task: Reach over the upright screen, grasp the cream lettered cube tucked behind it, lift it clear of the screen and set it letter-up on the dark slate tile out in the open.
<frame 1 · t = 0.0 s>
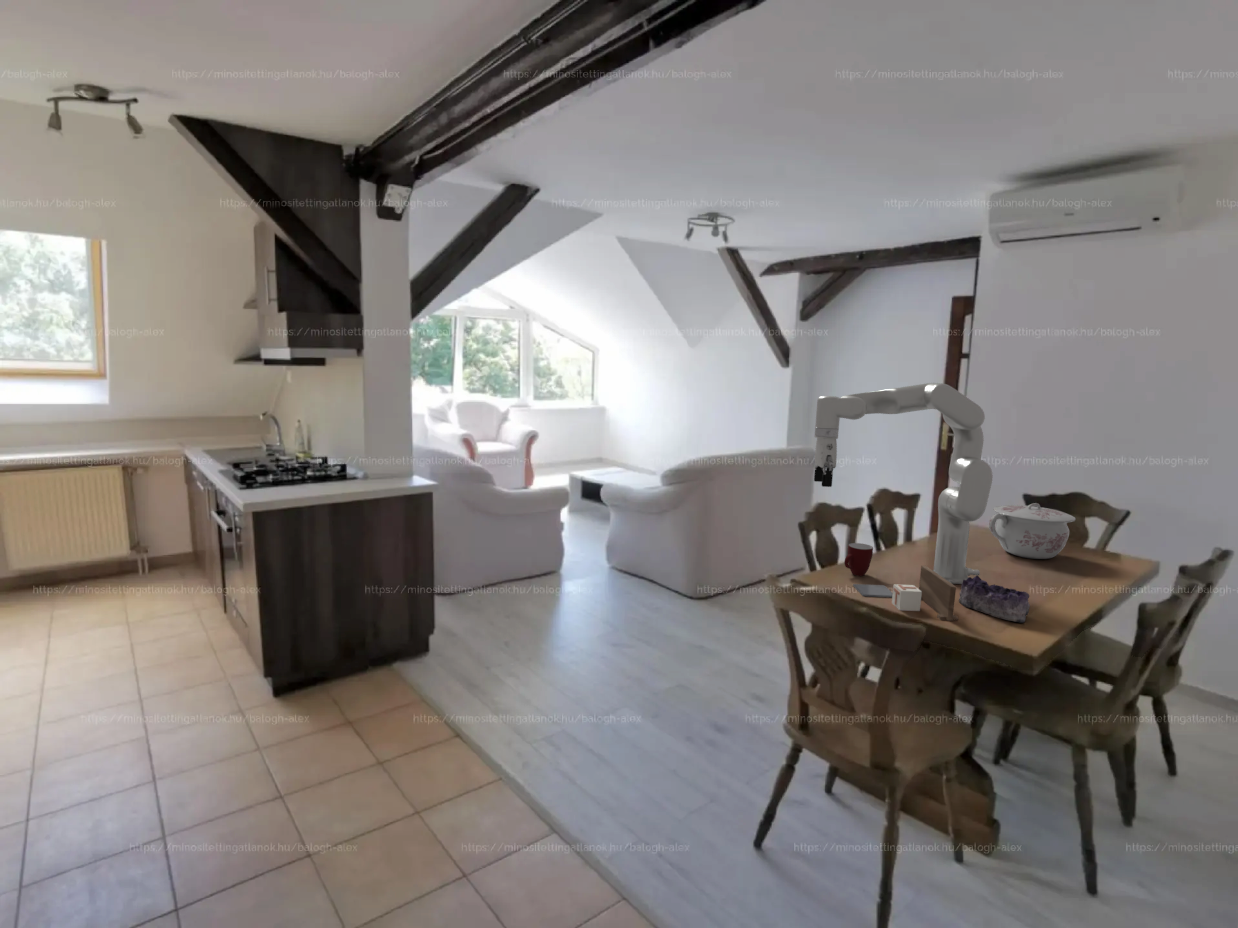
hand: (822, 483, 226), 31 cm above the table, tool pointing down, fingers open, 9 cm apart
screen: (934, 607, 200), on the table
geode: (992, 612, 199), on the table
tile: (873, 591, 213), on the table
cube: (905, 607, 200), on the table
chamber pot: (1027, 554, 264), on the table
mug: (855, 575, 230), on the table
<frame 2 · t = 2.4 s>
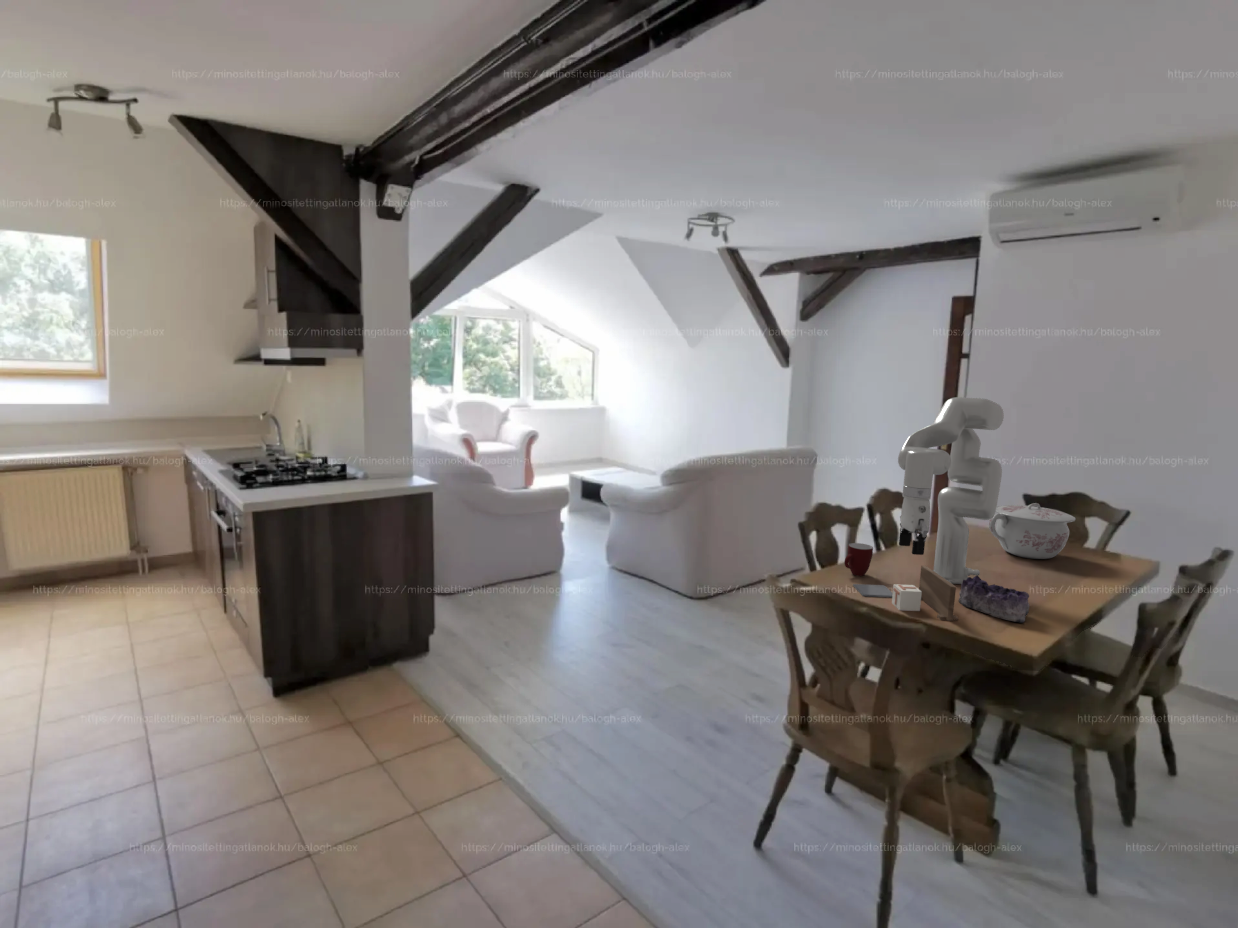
hand: (910, 549, 198), 18 cm above the table, tool pointing down, fingers open, 9 cm apart
nothing on the table moved.
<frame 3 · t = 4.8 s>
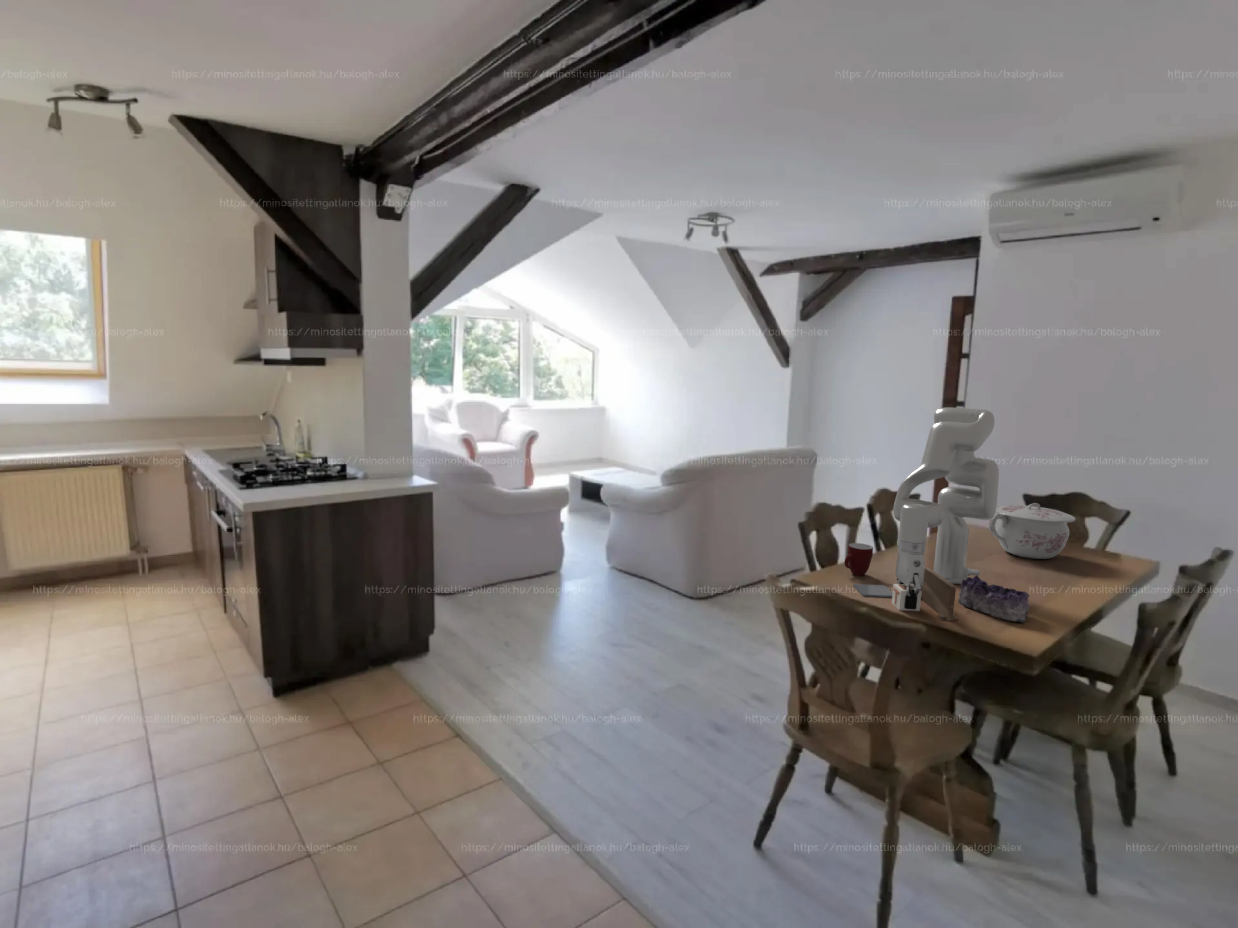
hand: (905, 604, 200), 1 cm above the table, tool pointing down, fingers closed on cube, 6 cm apart
cube: (905, 606, 200), on the table, touching gripper
everything else where it was.
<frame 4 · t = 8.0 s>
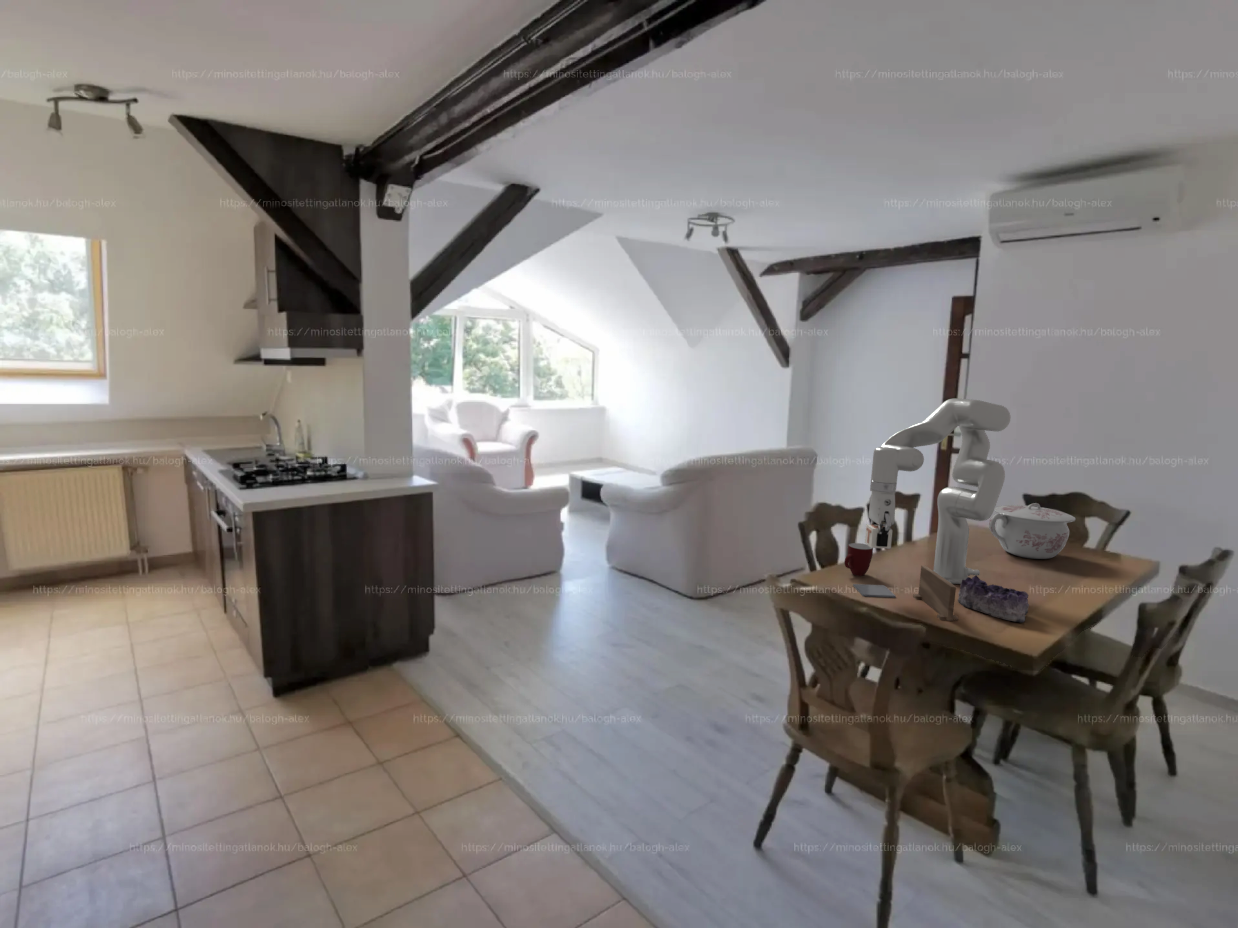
hand: (877, 542, 211), 16 cm above the table, tool pointing down, fingers closed on cube, 6 cm apart
cube: (877, 545, 211), point 15 cm above the table, touching gripper
everything else where it was.
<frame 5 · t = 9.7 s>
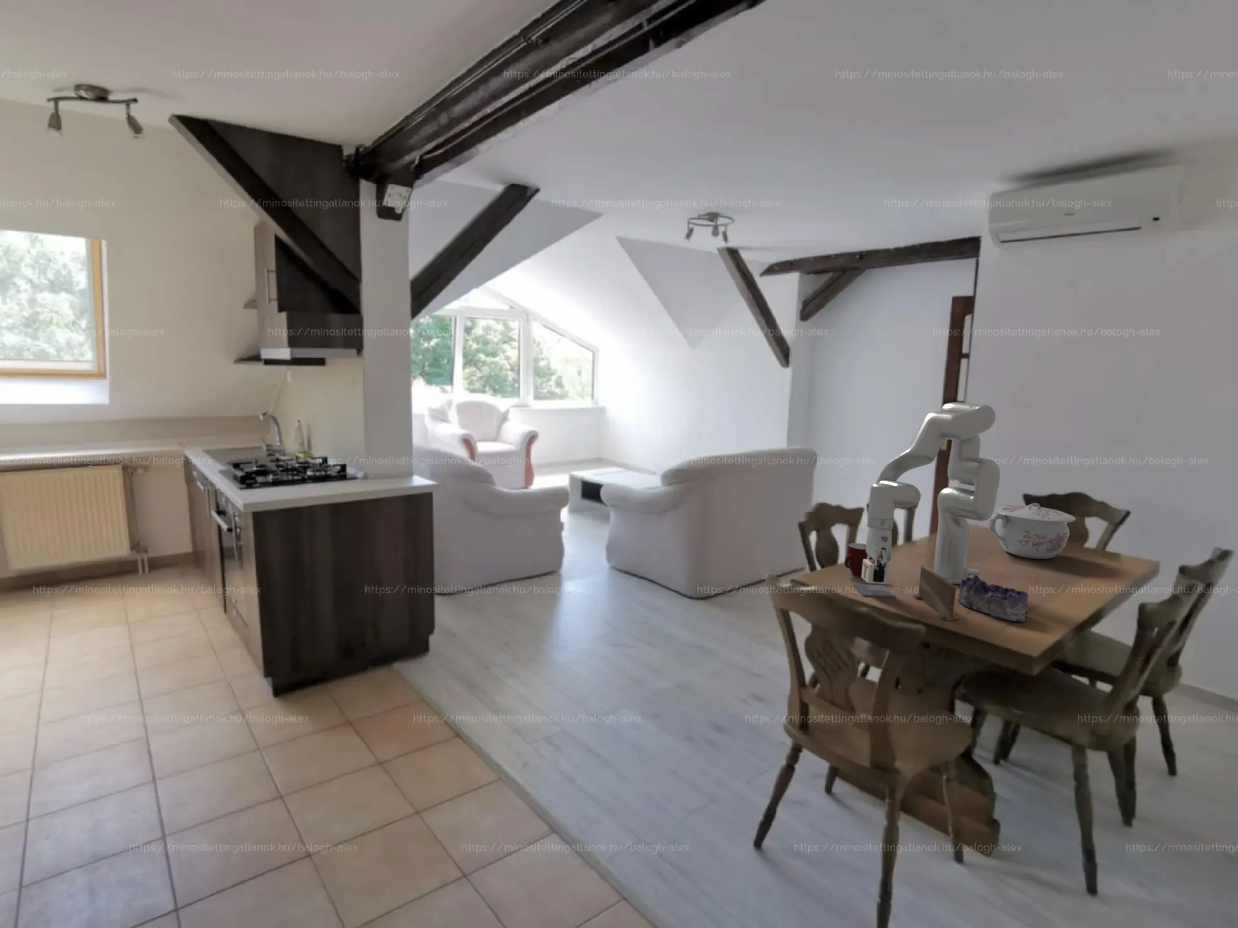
hand: (874, 577, 213), 5 cm above the table, tool pointing down, fingers closed on cube, 6 cm apart
cube: (874, 580, 213), point 4 cm above the table, touching gripper
everything else where it was.
when the fingers open (2 cm above the table, at t = 11.1 s): cube drops 1 cm, resting on tile.
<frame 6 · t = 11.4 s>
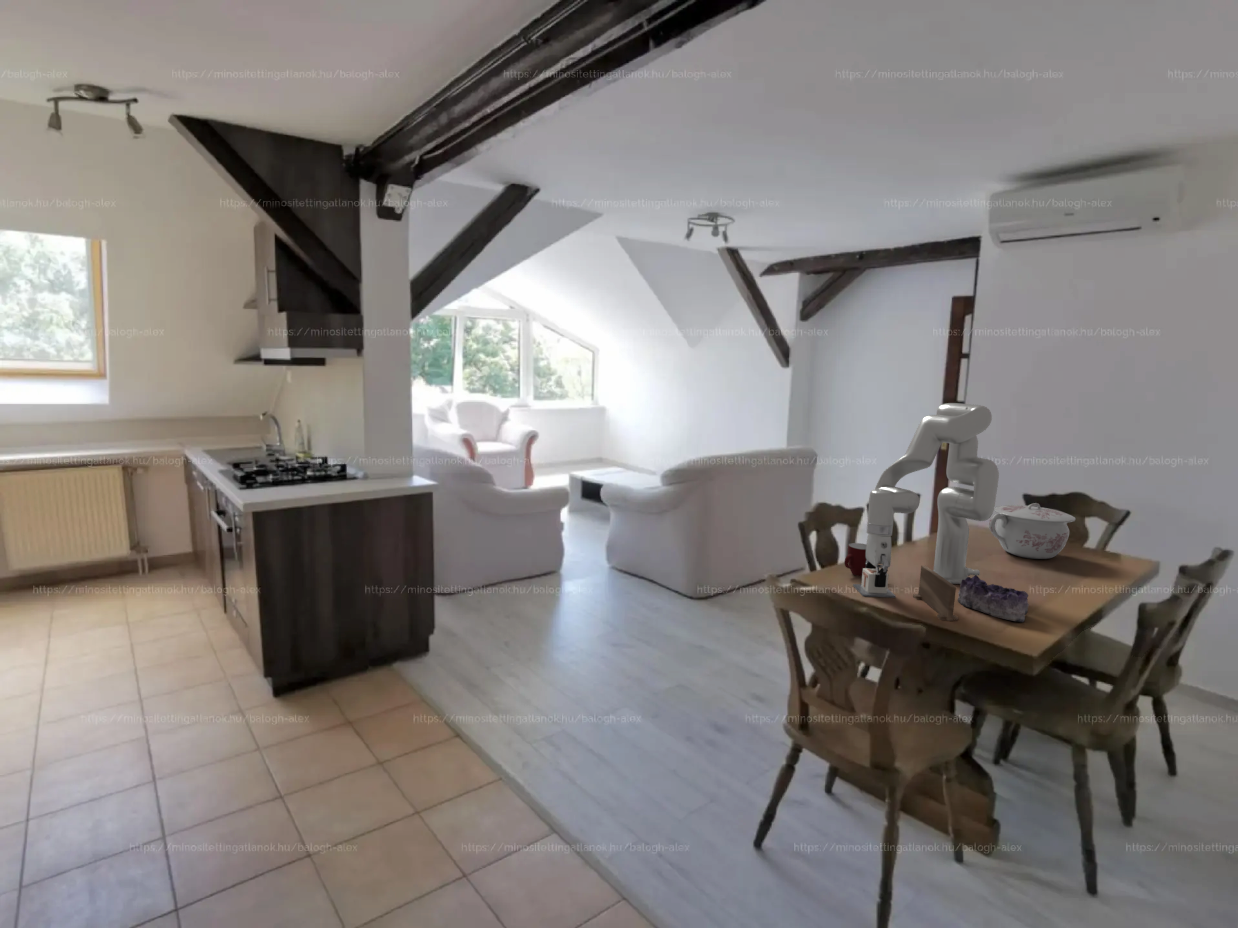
hand: (874, 581, 213), 3 cm above the table, tool pointing down, fingers open, 8 cm apart
cube: (873, 589, 213), point 1 cm above the table, touching tile
everything else where it was.
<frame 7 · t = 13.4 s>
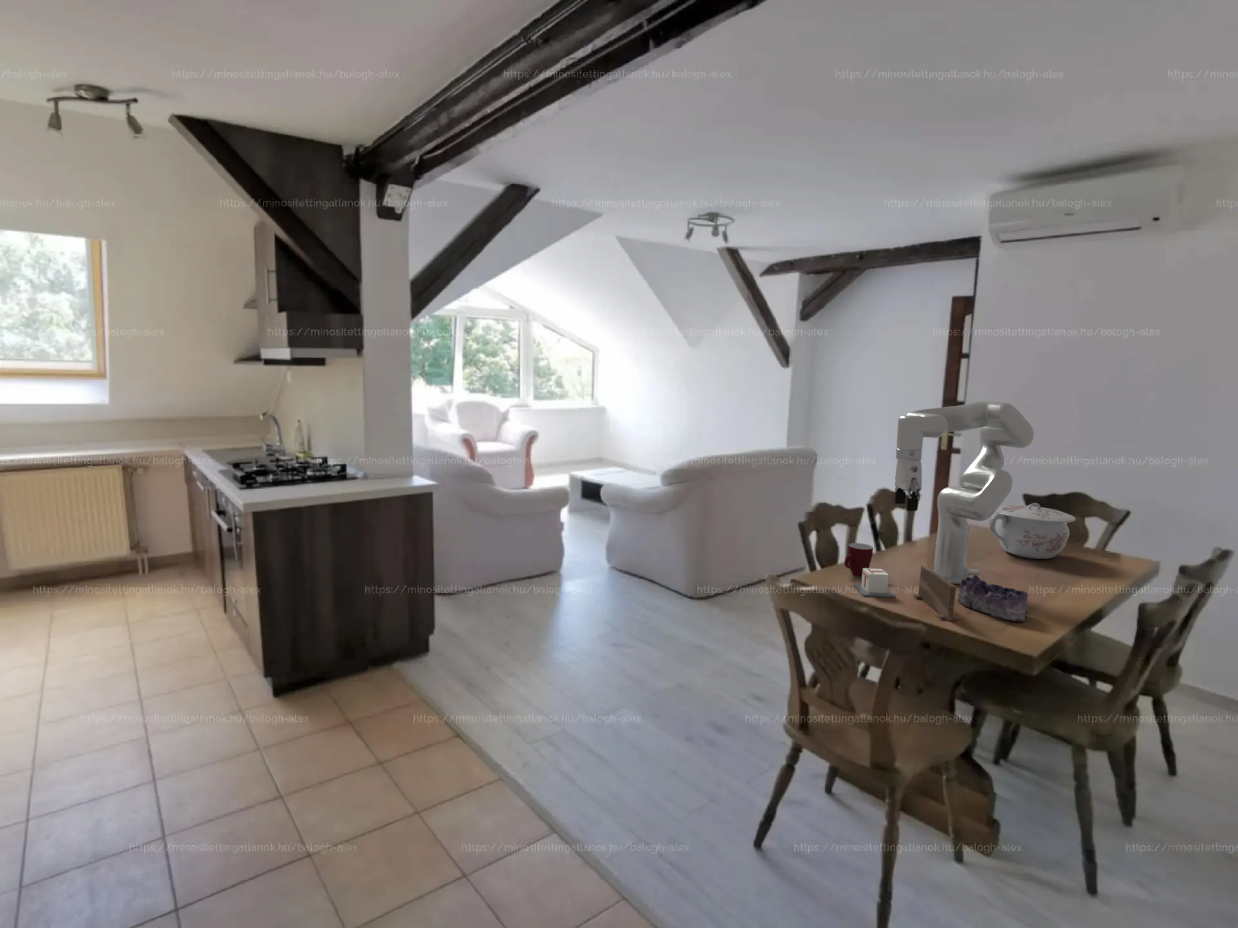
hand: (905, 506, 215), 27 cm above the table, tool pointing down, fingers open, 9 cm apart
nothing on the table moved.
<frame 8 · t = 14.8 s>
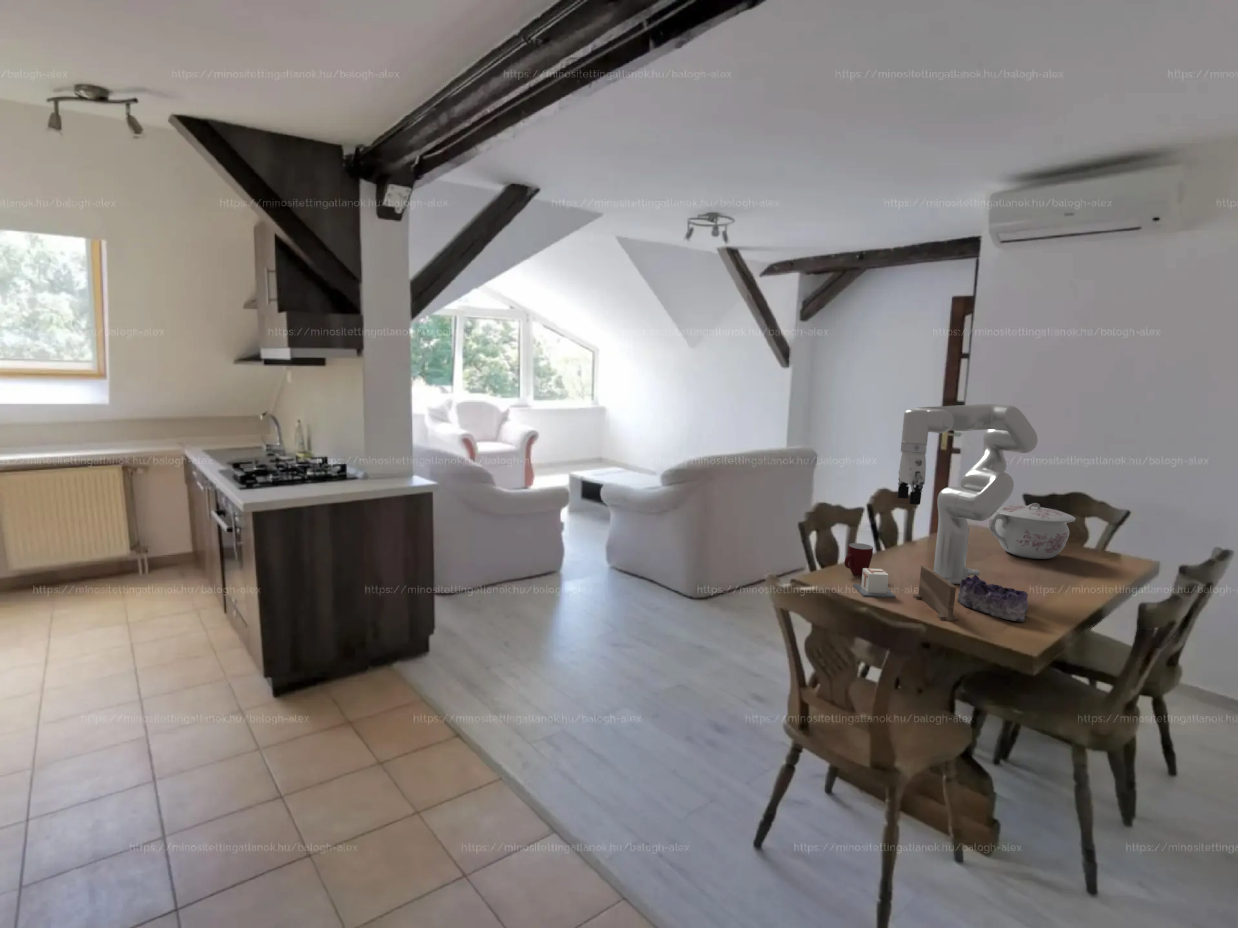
hand: (908, 501, 216), 28 cm above the table, tool pointing down, fingers open, 9 cm apart
nothing on the table moved.
at the end: cube inside the target area on the tile (0.0 cm from its centre), point 0.6 cm above the tile's base; cube tilted 0°; the gripper is holding nothing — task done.
